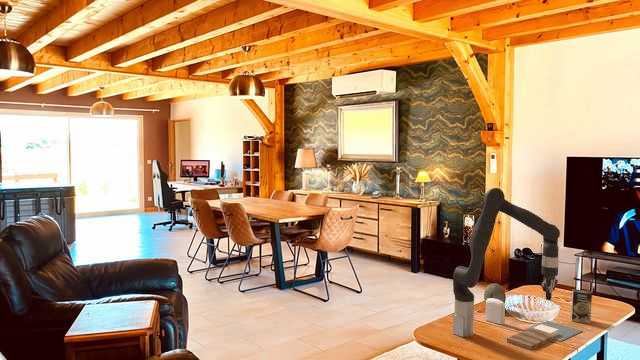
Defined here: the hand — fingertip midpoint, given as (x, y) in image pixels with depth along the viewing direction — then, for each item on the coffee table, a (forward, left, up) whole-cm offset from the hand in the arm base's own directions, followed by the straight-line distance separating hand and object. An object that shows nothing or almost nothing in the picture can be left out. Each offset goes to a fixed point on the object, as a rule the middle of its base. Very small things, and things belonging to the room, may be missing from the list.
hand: (548, 299), depth 258 cm
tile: (-2, 0, -17) cm, 17 cm away
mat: (+6, 0, -17) cm, 18 cm away
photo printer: (-6, +25, -17) cm, 31 cm away
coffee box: (+32, -2, -17) cm, 36 cm away
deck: (-16, 0, -17) cm, 24 cm away
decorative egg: (+12, +37, -17) cm, 43 cm away
